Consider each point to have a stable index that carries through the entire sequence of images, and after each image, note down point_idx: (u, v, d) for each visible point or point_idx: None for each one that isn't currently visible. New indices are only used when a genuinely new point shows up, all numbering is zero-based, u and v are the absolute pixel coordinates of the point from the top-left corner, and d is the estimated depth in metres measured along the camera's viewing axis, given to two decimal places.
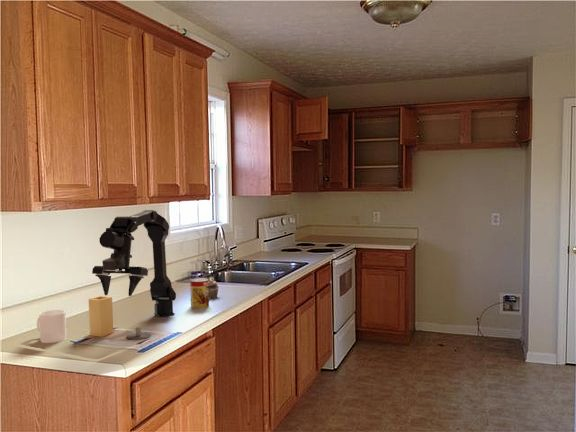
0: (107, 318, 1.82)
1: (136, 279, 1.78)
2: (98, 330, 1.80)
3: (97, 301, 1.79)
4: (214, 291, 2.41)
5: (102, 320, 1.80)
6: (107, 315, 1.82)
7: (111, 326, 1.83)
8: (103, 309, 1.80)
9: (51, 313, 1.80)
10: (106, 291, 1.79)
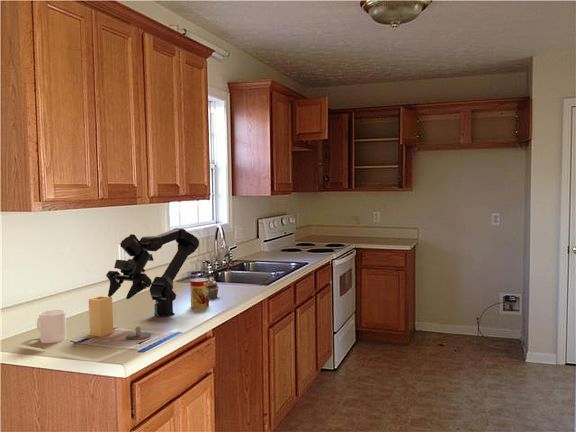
0: (107, 318, 1.82)
1: (139, 287, 1.91)
2: (98, 330, 1.80)
3: (97, 301, 1.79)
4: (214, 291, 2.41)
5: (102, 320, 1.80)
6: (107, 315, 1.82)
7: (111, 326, 1.83)
8: (103, 309, 1.80)
9: (51, 313, 1.80)
10: (110, 293, 1.92)
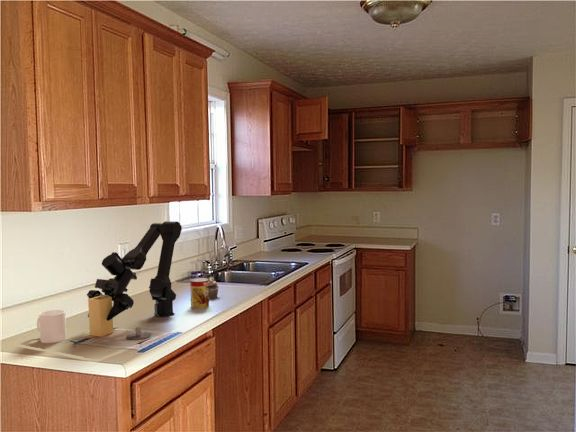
0: None
1: (120, 307, 1.83)
2: (98, 330, 1.80)
3: (97, 301, 1.79)
4: (214, 291, 2.41)
5: (102, 320, 1.80)
6: (107, 315, 1.82)
7: (111, 326, 1.83)
8: (103, 309, 1.80)
9: (51, 313, 1.80)
10: None
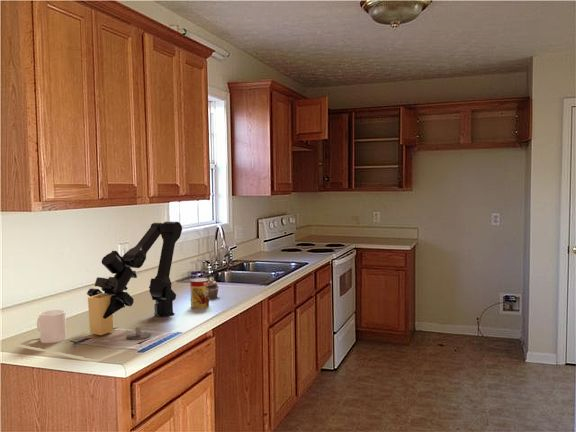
0: None
1: (117, 305, 1.83)
2: (98, 328, 1.80)
3: (96, 300, 1.78)
4: (214, 291, 2.41)
5: (102, 319, 1.80)
6: None
7: (111, 324, 1.83)
8: (102, 308, 1.80)
9: (51, 313, 1.80)
10: None
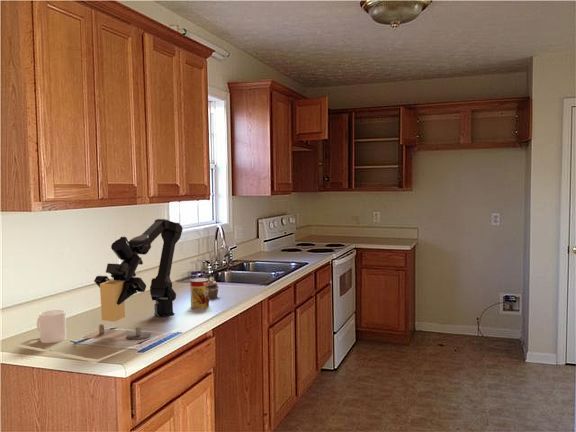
0: None
1: (129, 291, 1.82)
2: (111, 315, 1.77)
3: (110, 286, 1.76)
4: (214, 291, 2.41)
5: (116, 305, 1.77)
6: None
7: (123, 310, 1.81)
8: (116, 294, 1.77)
9: (51, 313, 1.80)
10: None
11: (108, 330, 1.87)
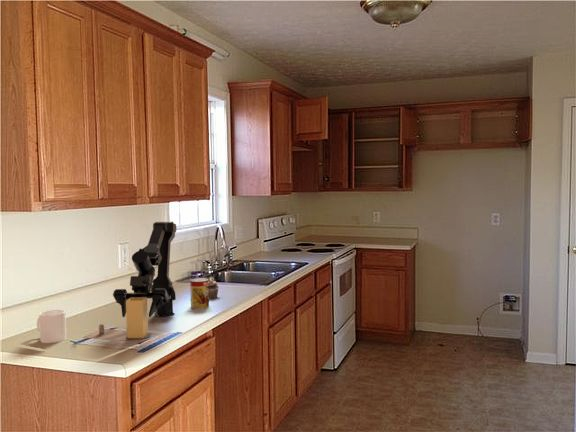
0: (145, 318, 1.79)
1: (157, 303, 1.82)
2: (139, 331, 1.76)
3: (138, 302, 1.75)
4: (214, 291, 2.41)
5: (143, 321, 1.77)
6: (145, 315, 1.79)
7: (147, 326, 1.81)
8: (143, 310, 1.77)
9: (51, 313, 1.80)
10: (124, 313, 1.78)
11: (108, 330, 1.87)
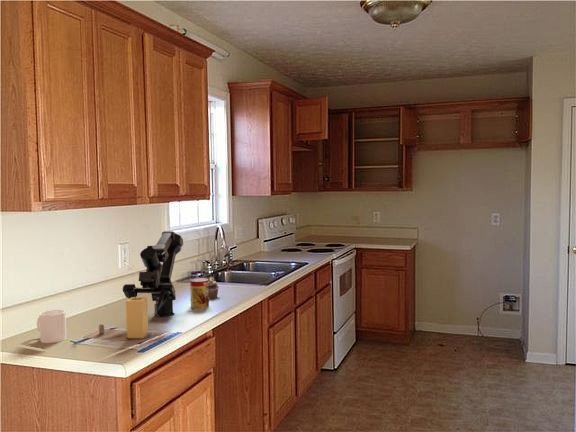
0: (145, 318, 1.79)
1: (164, 297, 1.91)
2: (139, 331, 1.76)
3: (138, 302, 1.75)
4: (214, 291, 2.41)
5: (143, 321, 1.77)
6: (145, 315, 1.79)
7: (147, 327, 1.81)
8: (143, 310, 1.77)
9: (51, 313, 1.80)
10: None
11: (108, 330, 1.87)
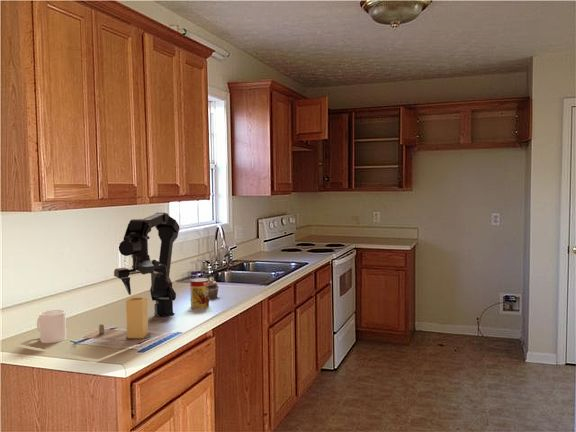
0: (145, 318, 1.79)
1: None
2: (139, 331, 1.76)
3: (138, 302, 1.75)
4: (214, 291, 2.41)
5: (143, 321, 1.77)
6: (145, 315, 1.79)
7: (147, 327, 1.81)
8: (143, 310, 1.77)
9: (51, 313, 1.80)
10: None
11: (108, 330, 1.87)
